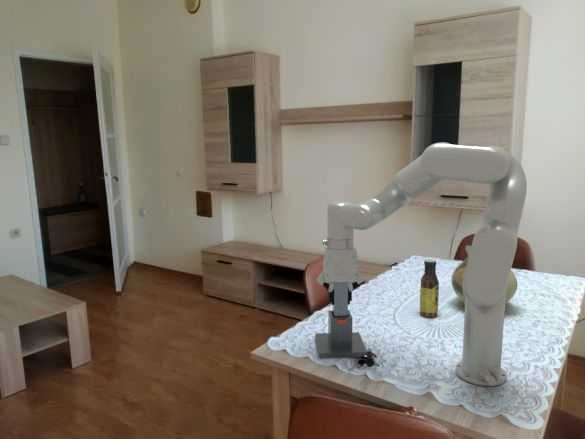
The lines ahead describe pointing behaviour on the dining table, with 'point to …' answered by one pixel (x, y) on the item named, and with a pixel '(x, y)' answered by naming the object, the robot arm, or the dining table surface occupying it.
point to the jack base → (339, 339)
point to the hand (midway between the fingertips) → (340, 302)
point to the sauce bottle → (429, 290)
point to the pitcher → (459, 276)
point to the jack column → (340, 300)
